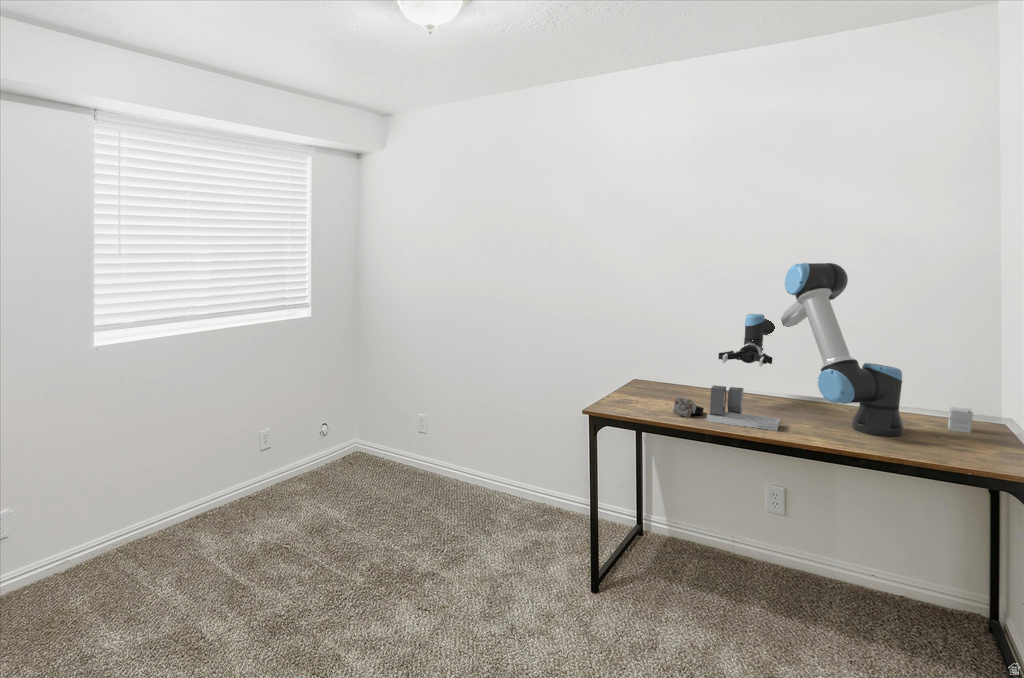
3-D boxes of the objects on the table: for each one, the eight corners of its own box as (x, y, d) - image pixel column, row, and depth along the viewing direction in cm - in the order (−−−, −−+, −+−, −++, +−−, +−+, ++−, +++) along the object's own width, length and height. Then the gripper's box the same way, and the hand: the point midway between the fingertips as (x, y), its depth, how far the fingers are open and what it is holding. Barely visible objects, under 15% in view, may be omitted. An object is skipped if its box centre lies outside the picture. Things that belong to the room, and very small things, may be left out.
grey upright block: (741, 416, 217) (743, 388, 215) (739, 419, 213) (741, 390, 212) (728, 414, 219) (730, 386, 218) (726, 417, 216) (728, 389, 214)
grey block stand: (779, 425, 205) (782, 391, 203) (777, 431, 198) (779, 396, 197) (710, 416, 217) (712, 384, 215) (706, 421, 210) (708, 388, 209)
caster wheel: (699, 418, 224) (702, 421, 214) (671, 410, 226) (672, 413, 216) (704, 402, 223) (706, 404, 214) (675, 394, 226) (676, 396, 216)
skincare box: (947, 426, 204) (949, 406, 203) (968, 429, 201) (971, 408, 200) (948, 430, 199) (951, 410, 198) (971, 433, 196) (973, 412, 195)
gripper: (781, 364, 234) (776, 374, 216) (718, 359, 247) (708, 367, 229) (782, 346, 233) (777, 354, 215) (719, 342, 246) (709, 349, 228)
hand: (741, 361), depth 222 cm, fingers open, 13 cm apart
